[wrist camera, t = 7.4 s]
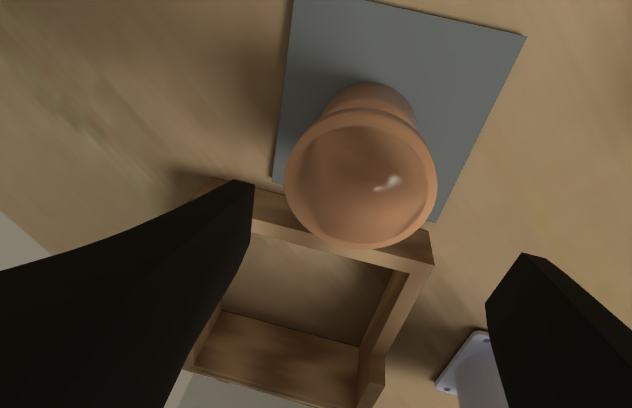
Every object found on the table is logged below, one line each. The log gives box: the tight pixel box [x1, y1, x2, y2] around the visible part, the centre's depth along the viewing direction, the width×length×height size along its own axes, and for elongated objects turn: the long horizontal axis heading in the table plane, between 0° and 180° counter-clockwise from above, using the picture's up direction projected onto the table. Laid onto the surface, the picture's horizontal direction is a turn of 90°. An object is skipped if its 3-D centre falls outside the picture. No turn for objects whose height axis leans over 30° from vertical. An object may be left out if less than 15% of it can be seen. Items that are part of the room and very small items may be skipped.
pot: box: [284, 82, 438, 250], centre depth 15 cm, size 6×6×6 cm
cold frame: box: [182, 177, 435, 408], centre depth 20 cm, size 14×16×11 cm
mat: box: [272, 0, 527, 223], centre depth 17 cm, size 10×10×1 cm
